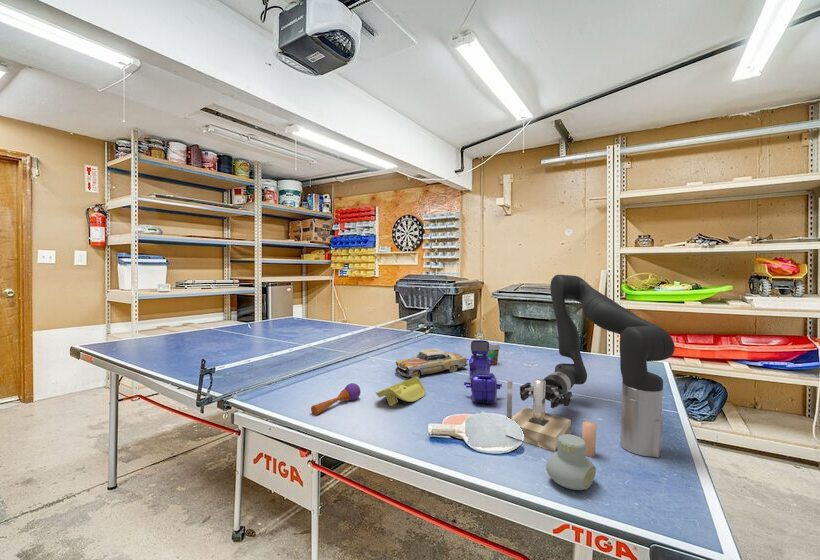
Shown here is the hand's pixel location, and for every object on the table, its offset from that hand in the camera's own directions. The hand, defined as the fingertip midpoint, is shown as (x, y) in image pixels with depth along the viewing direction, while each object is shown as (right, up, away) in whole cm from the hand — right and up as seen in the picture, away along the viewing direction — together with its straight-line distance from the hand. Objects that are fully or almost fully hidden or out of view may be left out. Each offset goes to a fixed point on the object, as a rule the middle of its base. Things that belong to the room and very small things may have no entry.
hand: (536, 400), depth 105 cm
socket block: (+1, -10, +2) cm, 11 cm away
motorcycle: (-8, -9, +38) cm, 40 cm away
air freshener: (+1, -12, -21) cm, 24 cm away
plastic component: (-40, -9, +28) cm, 50 cm away
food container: (0, -7, +74) cm, 74 cm away
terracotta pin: (+11, -11, -8) cm, 18 cm away
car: (-27, -7, +61) cm, 67 cm away
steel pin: (+1, -10, +2) cm, 11 cm away
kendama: (-62, -9, +22) cm, 66 cm away
